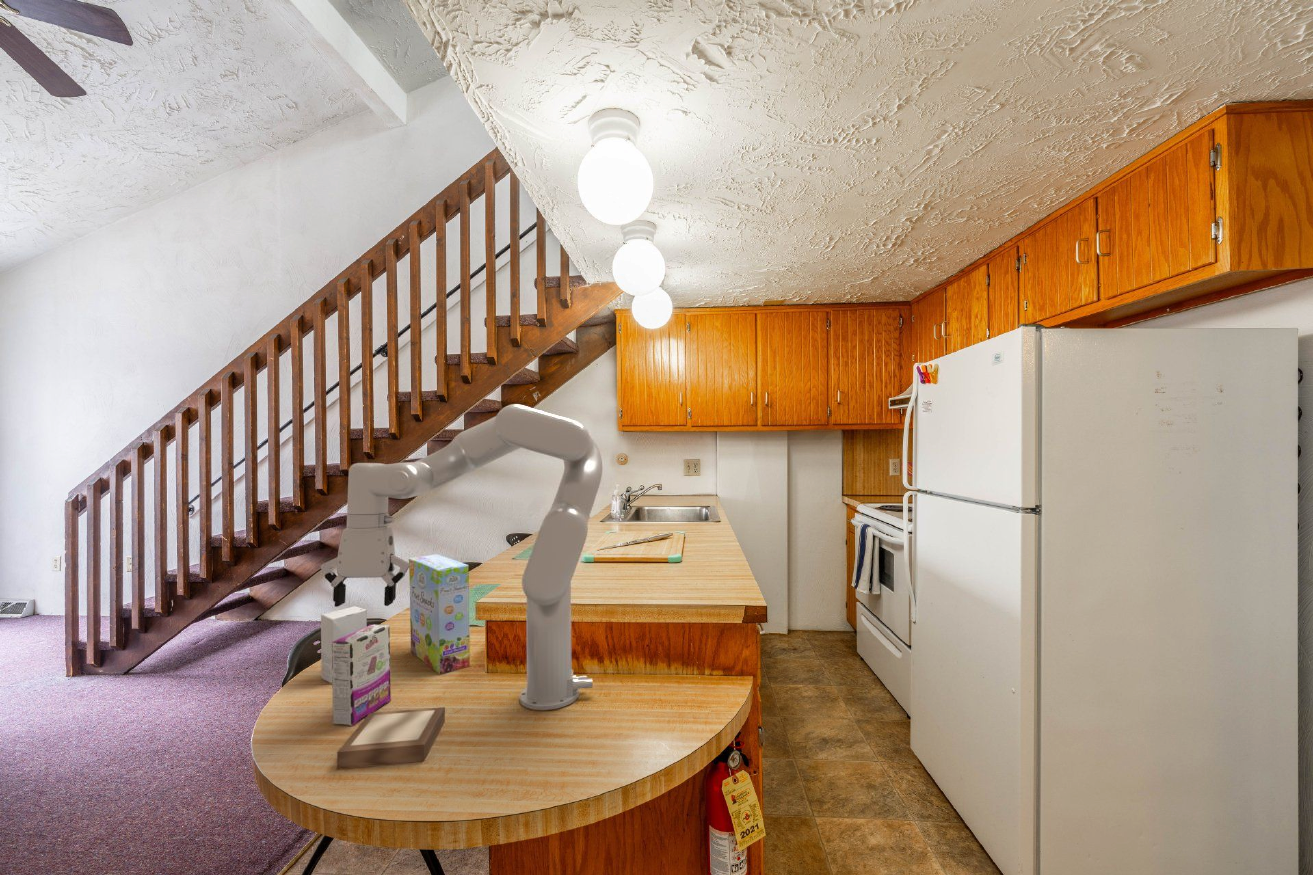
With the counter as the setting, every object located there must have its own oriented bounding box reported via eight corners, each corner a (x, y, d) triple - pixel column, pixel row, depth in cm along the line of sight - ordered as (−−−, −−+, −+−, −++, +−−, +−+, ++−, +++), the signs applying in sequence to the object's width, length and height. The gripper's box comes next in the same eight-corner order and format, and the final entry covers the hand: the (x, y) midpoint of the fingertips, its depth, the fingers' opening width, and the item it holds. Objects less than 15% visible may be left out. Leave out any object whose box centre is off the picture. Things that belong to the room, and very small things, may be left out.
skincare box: (355, 667, 134) (356, 605, 135) (368, 673, 130) (368, 609, 131) (319, 679, 128) (319, 613, 128) (331, 685, 124) (332, 617, 124)
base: (444, 721, 106) (444, 705, 106) (424, 760, 92) (424, 743, 92) (369, 727, 104) (369, 711, 104) (337, 768, 90) (337, 750, 90)
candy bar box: (371, 699, 116) (371, 623, 117) (391, 701, 115) (391, 624, 116) (330, 725, 105) (330, 640, 106) (352, 727, 104) (352, 642, 105)
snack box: (406, 653, 144) (406, 557, 145) (439, 645, 150) (439, 553, 151) (437, 676, 128) (436, 568, 129) (472, 666, 134) (471, 563, 135)
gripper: (416, 519, 116) (414, 599, 116) (332, 519, 114) (329, 600, 114) (404, 524, 109) (401, 608, 108) (314, 524, 107) (310, 610, 106)
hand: (364, 604), depth 111 cm, fingers open, 9 cm apart
